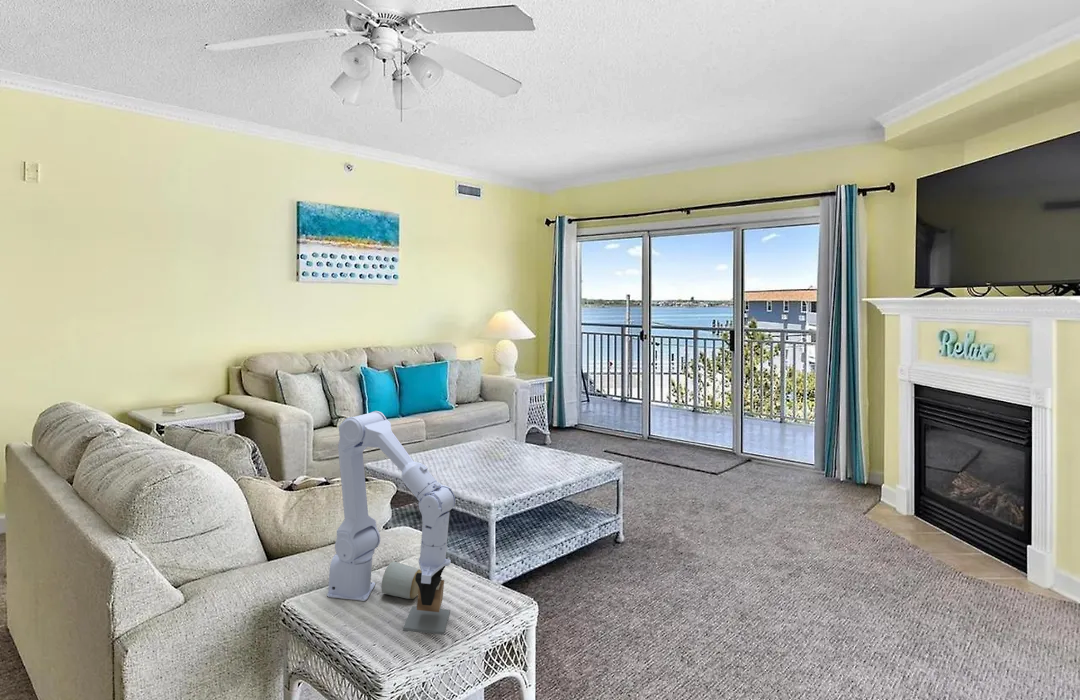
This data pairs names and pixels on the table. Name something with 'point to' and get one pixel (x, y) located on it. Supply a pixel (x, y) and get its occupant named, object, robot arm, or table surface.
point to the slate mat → (427, 621)
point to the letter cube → (436, 601)
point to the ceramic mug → (400, 580)
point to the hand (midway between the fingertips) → (429, 597)
